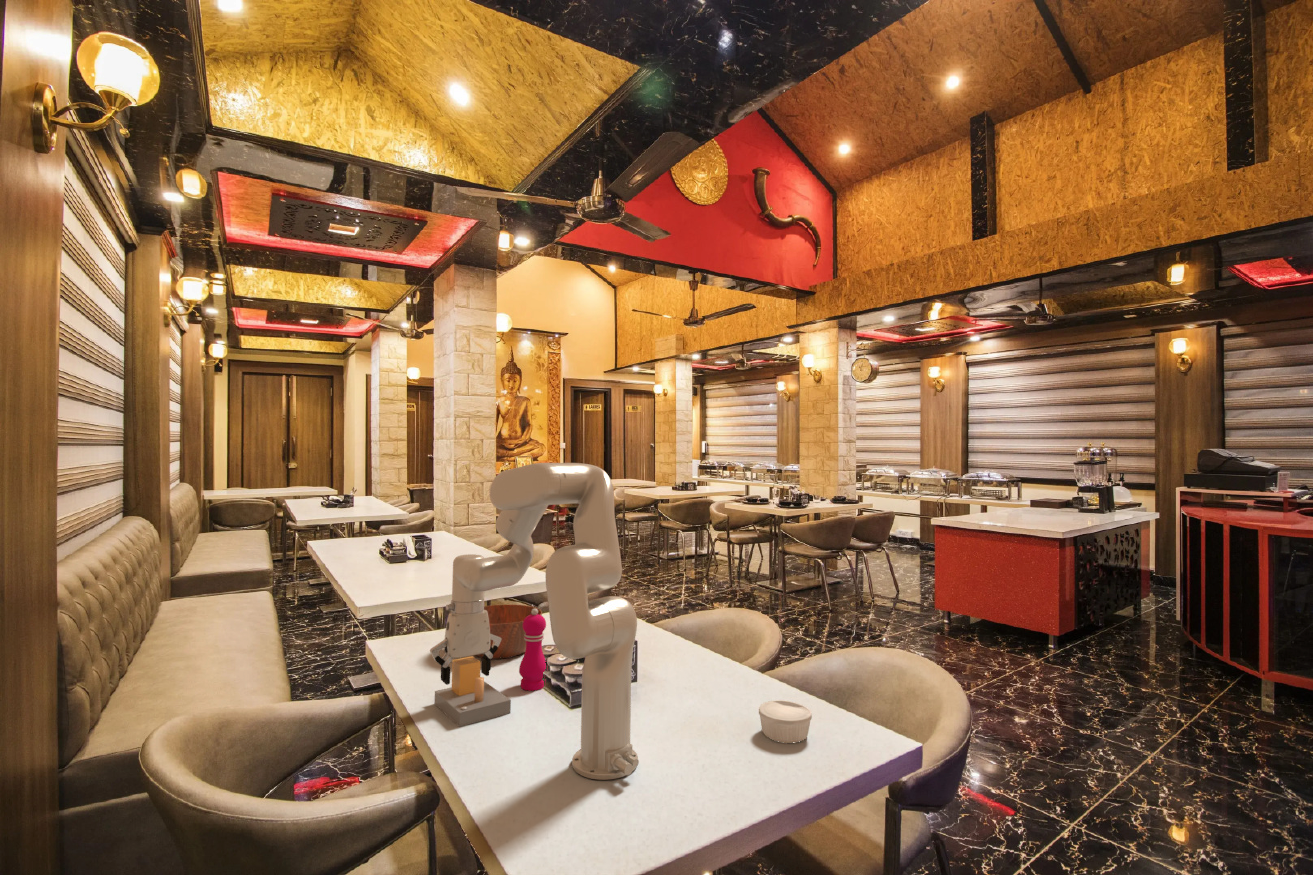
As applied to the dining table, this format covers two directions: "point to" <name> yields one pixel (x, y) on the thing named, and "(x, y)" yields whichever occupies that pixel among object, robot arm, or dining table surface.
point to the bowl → (508, 628)
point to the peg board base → (473, 703)
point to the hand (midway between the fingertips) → (465, 678)
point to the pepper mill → (533, 652)
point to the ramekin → (785, 721)
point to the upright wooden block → (465, 675)
